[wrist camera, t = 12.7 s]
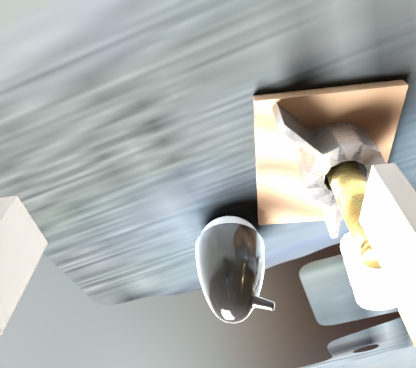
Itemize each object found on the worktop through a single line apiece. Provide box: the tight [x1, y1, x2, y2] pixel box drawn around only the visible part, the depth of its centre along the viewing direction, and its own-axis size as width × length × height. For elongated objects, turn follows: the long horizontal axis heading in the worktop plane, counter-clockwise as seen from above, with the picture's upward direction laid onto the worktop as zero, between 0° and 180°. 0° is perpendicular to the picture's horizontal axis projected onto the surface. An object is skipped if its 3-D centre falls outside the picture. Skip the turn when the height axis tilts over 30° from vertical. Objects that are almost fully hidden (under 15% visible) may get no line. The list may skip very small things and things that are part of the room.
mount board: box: [253, 80, 408, 225], centre depth 43 cm, size 20×16×2 cm
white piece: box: [272, 103, 386, 239], centre depth 40 cm, size 18×12×5 cm, turn 7°
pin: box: [326, 160, 381, 269], centre depth 35 cm, size 4×4×16 cm
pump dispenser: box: [196, 216, 275, 323], centre depth 46 cm, size 10×10×15 cm
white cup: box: [340, 232, 399, 310], centre depth 50 cm, size 8×8×10 cm
